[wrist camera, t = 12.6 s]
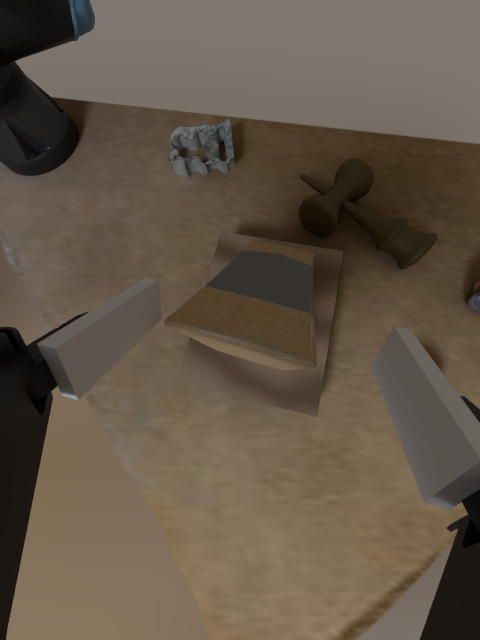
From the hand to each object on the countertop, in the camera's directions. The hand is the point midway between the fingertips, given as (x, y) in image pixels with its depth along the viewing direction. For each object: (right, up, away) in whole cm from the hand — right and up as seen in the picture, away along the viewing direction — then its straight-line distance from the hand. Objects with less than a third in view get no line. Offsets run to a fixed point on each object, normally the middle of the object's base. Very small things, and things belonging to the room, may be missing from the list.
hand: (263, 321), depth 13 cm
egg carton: (-7, +28, +26) cm, 39 cm away
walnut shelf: (+2, 0, +18) cm, 18 cm away
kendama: (+15, +14, +21) cm, 30 cm away
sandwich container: (+2, +3, +15) cm, 15 cm away
